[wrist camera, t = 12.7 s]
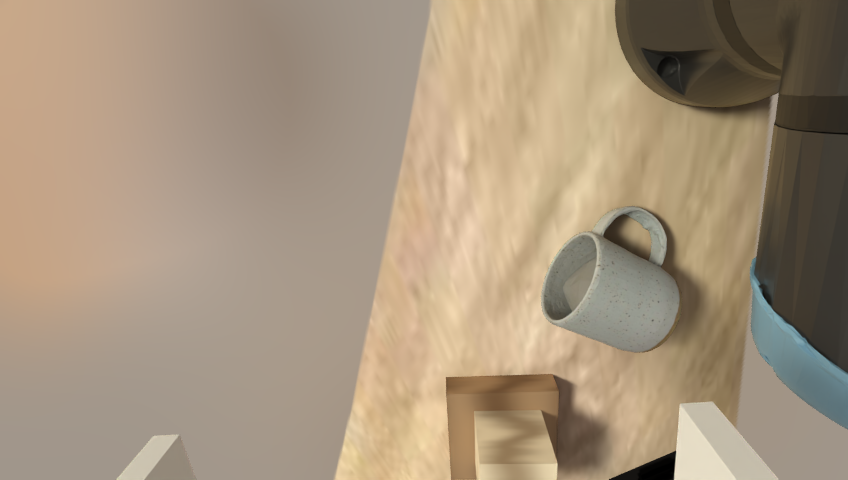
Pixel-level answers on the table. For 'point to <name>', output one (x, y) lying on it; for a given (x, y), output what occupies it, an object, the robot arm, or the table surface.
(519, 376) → the walnut block
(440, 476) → the table surface
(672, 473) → the black plastic mount
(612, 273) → the ceramic mug
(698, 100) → the robot arm
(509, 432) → the maple block
